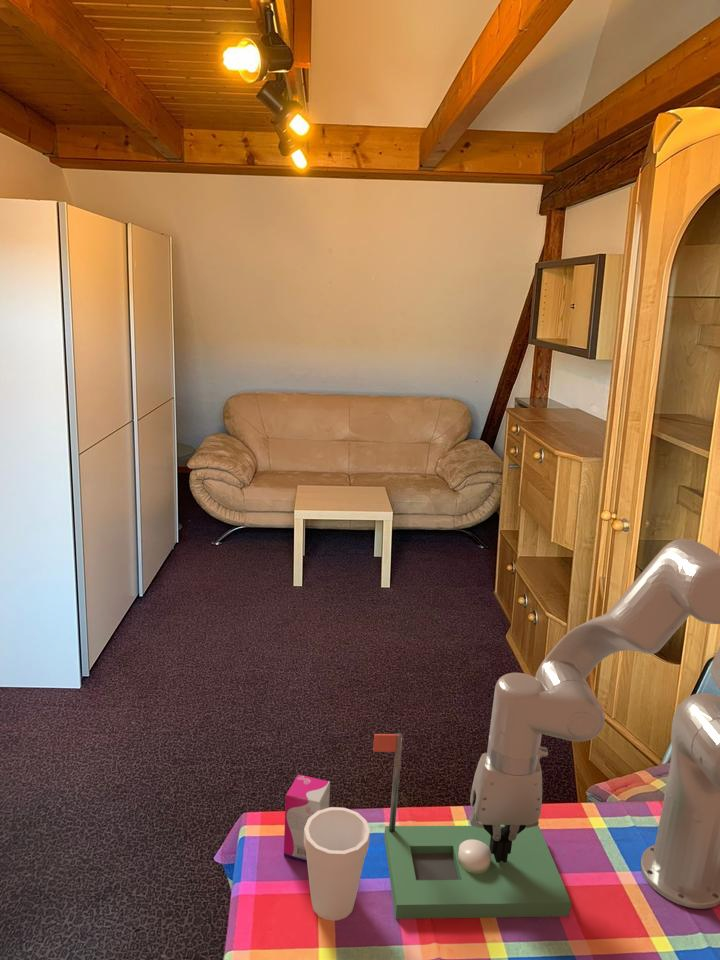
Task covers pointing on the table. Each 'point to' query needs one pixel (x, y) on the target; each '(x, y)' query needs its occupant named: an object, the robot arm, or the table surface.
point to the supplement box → (302, 812)
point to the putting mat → (447, 886)
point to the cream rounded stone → (474, 856)
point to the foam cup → (335, 859)
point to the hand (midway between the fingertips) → (499, 855)
